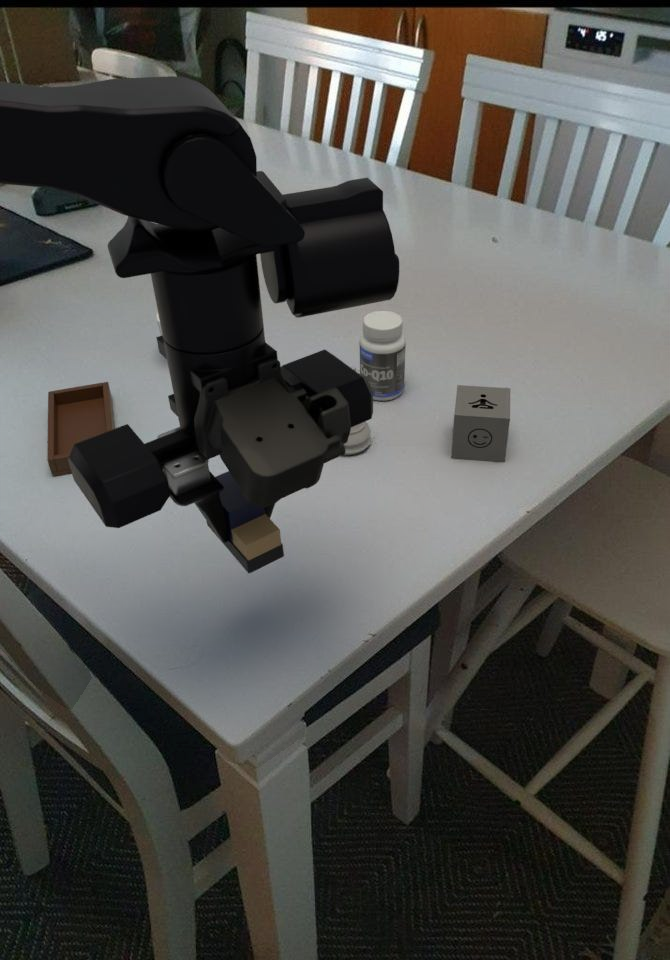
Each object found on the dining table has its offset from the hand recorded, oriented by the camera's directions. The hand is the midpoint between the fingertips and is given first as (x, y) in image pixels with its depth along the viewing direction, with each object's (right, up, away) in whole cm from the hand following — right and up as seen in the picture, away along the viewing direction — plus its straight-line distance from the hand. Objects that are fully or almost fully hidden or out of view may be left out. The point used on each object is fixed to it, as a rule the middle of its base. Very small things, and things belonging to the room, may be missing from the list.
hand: (242, 529), depth 56 cm
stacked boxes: (0, -1, +1) cm, 1 cm away
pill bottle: (+11, +13, +31) cm, 35 cm away
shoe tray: (-19, +8, +26) cm, 34 cm away
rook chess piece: (+8, +7, +24) cm, 26 cm away
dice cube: (+20, +7, +23) cm, 31 cm away
